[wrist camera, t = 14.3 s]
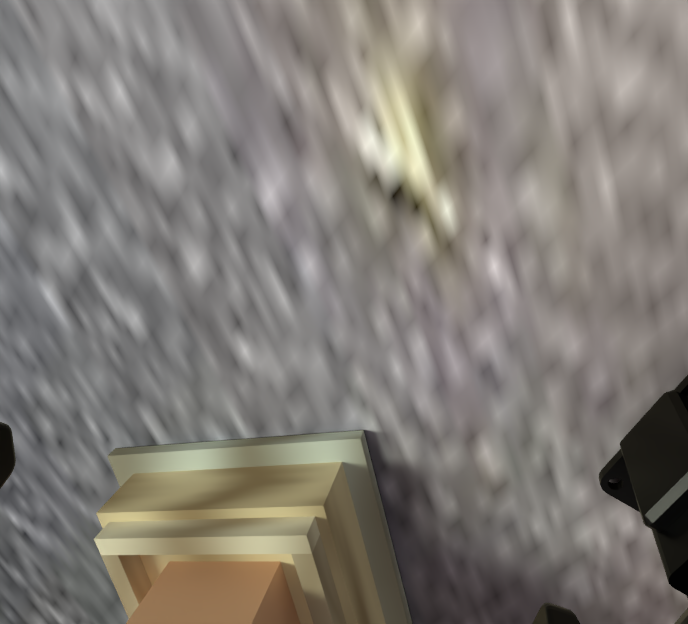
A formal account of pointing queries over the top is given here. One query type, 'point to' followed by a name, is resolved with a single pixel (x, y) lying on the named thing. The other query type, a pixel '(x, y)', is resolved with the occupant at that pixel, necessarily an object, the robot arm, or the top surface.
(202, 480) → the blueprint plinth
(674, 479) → the robot arm
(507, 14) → the top surface
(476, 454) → the top surface
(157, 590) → the column block
